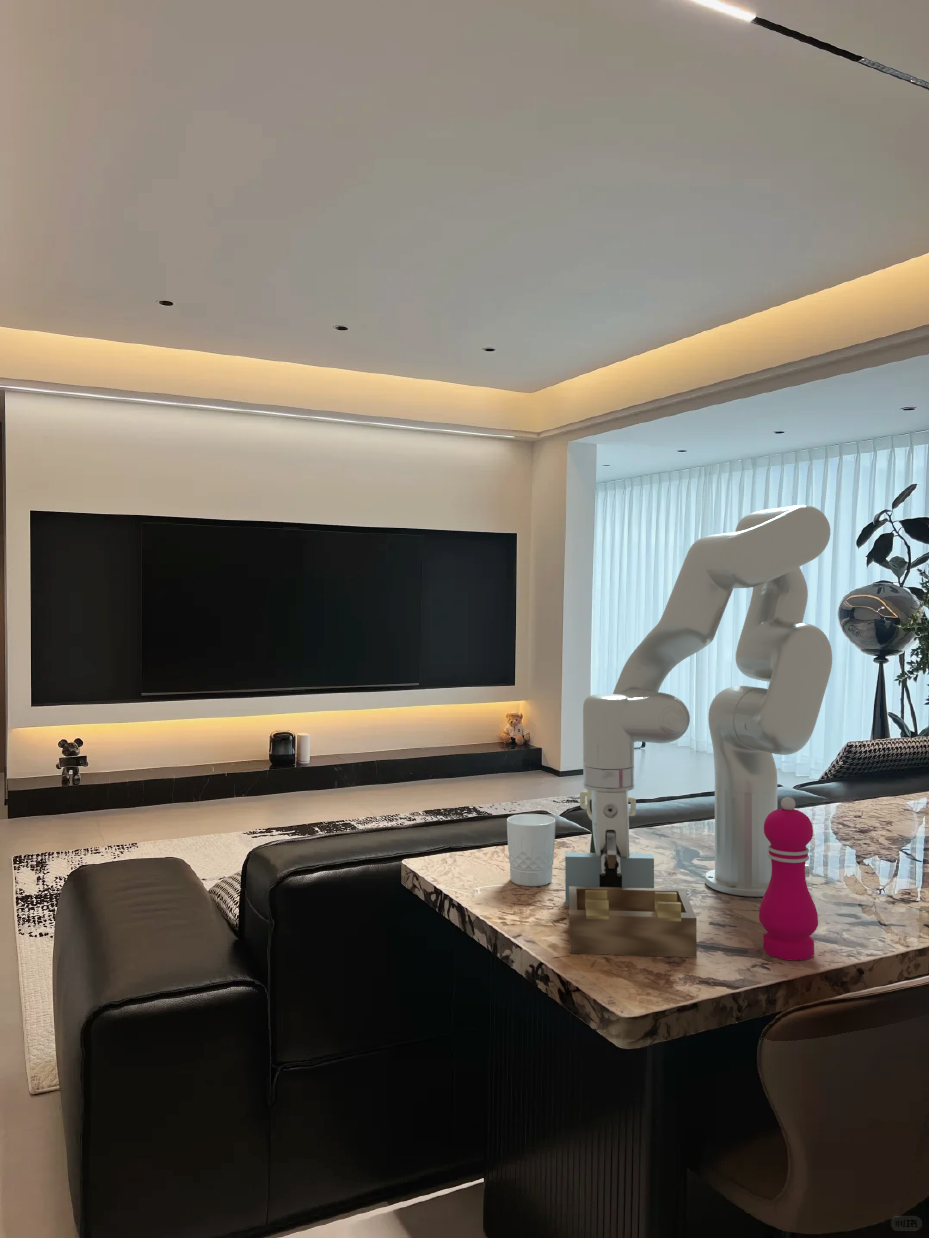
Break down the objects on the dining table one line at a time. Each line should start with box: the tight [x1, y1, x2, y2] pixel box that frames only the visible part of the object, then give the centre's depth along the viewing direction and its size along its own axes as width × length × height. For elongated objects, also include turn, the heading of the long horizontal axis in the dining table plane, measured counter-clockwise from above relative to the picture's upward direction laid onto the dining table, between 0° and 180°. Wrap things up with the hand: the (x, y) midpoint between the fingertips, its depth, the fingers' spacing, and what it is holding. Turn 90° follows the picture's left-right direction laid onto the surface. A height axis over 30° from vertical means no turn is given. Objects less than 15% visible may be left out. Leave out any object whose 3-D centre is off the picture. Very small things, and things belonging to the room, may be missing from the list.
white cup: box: [506, 813, 556, 887], centre depth 151 cm, size 8×8×10 cm
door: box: [564, 851, 655, 907], centre depth 139 cm, size 13×3×8 cm, turn 84°
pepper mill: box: [758, 796, 819, 961], centre depth 120 cm, size 7×7×20 cm
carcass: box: [568, 886, 698, 958], centre depth 124 cm, size 16×13×7 cm
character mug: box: [579, 789, 637, 853], centre depth 165 cm, size 11×7×13 cm, turn 54°
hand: (609, 891), depth 139 cm, fingers open, 9 cm apart
